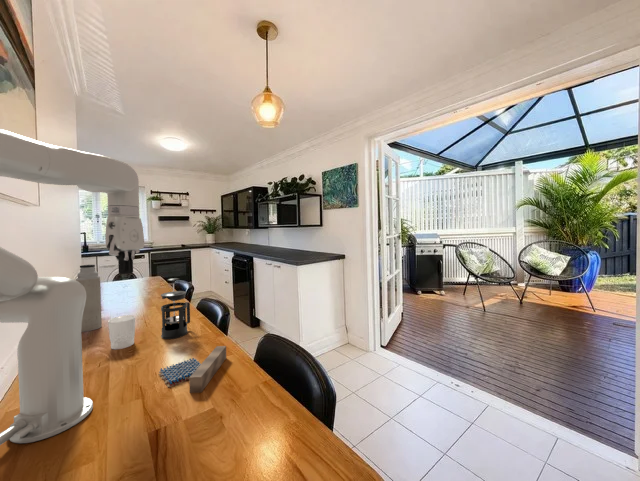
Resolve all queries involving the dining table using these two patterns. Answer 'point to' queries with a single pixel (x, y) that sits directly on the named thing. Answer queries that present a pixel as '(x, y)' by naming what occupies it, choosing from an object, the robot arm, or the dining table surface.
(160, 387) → the dining table surface
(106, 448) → the dining table surface
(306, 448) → the dining table surface
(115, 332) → the white cup
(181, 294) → the french press
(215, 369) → the bar
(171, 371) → the woven mat
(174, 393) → the dining table surface
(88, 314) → the thermos bottle
